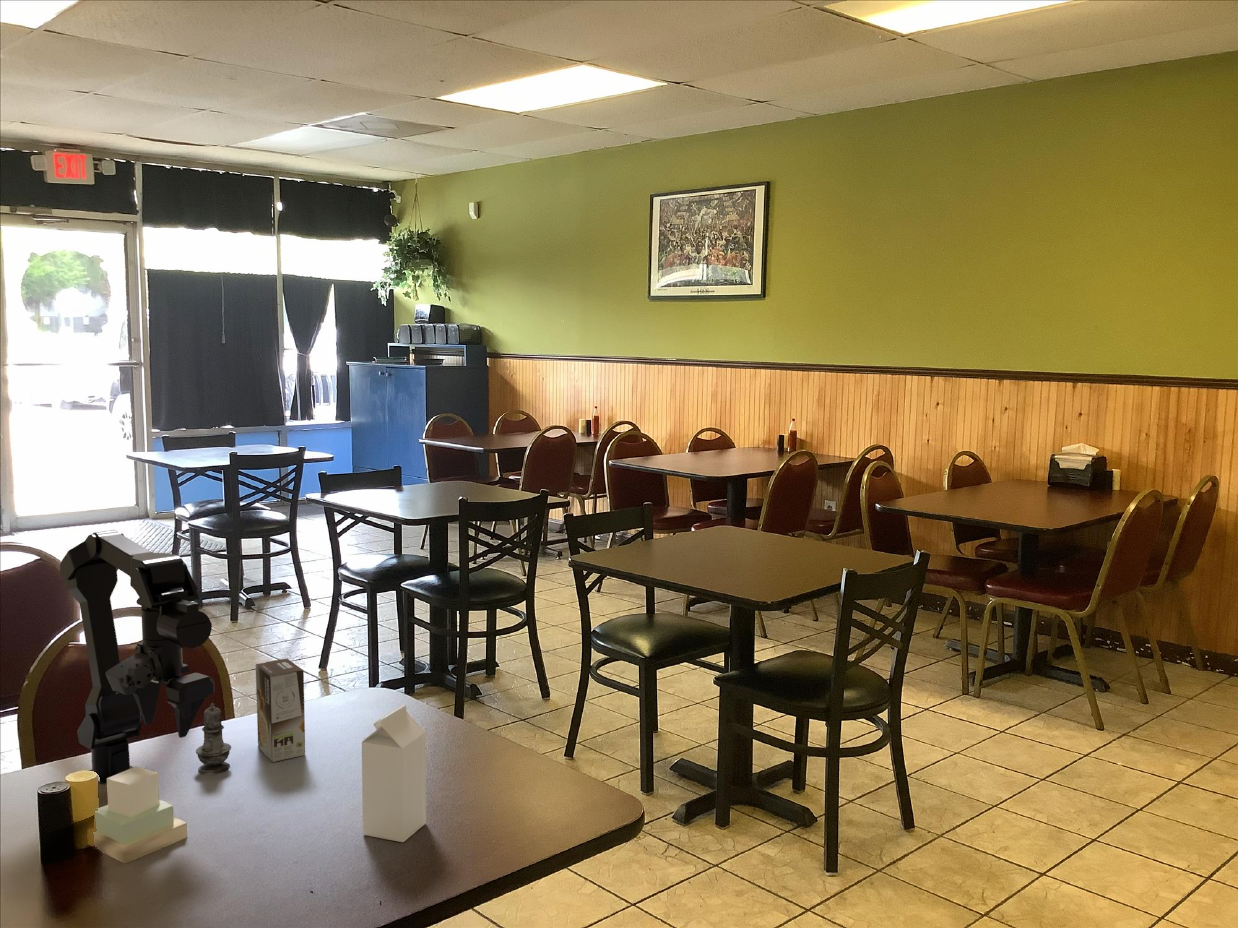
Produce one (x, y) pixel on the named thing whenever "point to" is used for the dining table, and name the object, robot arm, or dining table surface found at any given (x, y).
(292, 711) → the coffee box
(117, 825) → the sage slab
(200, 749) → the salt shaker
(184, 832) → the maple slab
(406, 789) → the milk carton
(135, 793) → the cream block
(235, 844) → the dining table surface
